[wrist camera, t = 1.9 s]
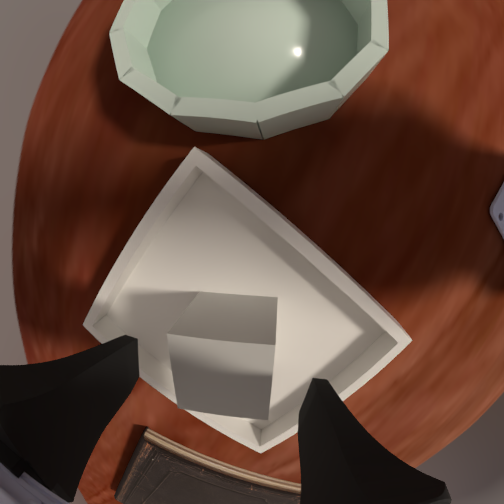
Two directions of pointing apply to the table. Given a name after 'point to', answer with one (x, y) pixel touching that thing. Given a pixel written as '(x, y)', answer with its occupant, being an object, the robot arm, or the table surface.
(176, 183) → the tray
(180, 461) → the hardcover book
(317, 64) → the bowl
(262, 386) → the block
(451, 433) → the table surface
